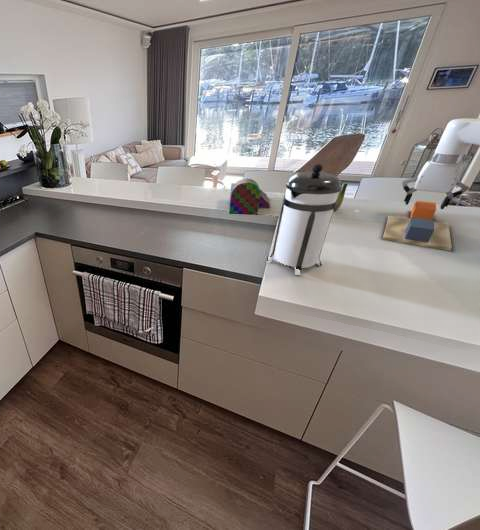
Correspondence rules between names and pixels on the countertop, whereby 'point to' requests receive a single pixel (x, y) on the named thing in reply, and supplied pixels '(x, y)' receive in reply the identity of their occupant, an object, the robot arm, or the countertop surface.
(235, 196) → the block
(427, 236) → the blue gray block
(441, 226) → the tan wooden board
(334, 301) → the countertop surface
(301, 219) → the coffee press
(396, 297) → the countertop surface
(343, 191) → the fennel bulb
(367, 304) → the countertop surface
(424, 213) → the orange rectangular block
